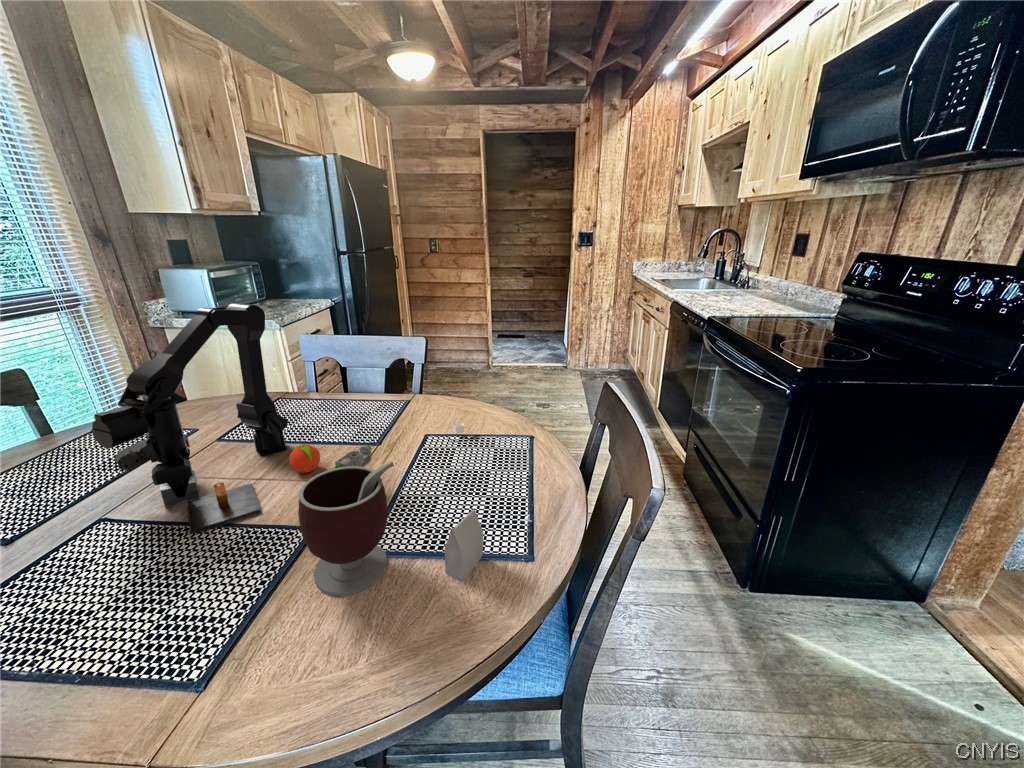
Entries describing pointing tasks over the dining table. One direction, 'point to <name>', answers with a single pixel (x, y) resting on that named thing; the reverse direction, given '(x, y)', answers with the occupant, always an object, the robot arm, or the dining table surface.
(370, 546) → the mate gourd
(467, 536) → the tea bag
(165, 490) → the grey hollow block
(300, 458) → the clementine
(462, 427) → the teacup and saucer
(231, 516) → the grey socket block
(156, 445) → the robot arm
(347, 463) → the grey lumpy piece
